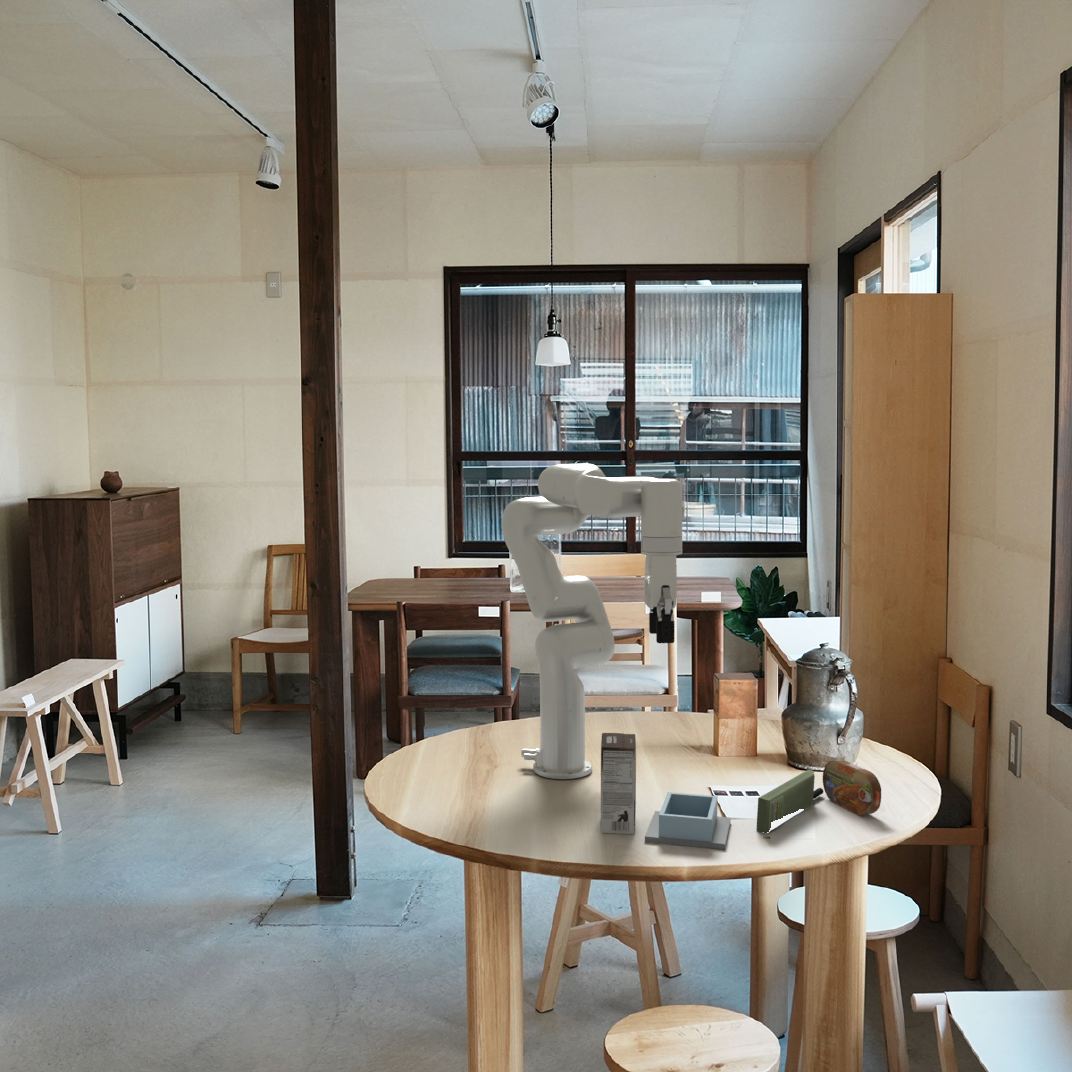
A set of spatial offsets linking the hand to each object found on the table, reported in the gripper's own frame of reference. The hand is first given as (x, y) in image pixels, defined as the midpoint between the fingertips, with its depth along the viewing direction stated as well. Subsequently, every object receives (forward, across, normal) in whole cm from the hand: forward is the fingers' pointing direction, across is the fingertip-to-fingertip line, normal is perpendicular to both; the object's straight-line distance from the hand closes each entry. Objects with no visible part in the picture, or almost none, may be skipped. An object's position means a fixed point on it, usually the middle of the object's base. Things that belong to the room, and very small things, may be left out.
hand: (661, 637), depth 194 cm
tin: (+35, -4, +37) cm, 51 cm away
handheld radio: (+35, -1, +25) cm, 43 cm away
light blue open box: (+34, +8, +4) cm, 35 cm away
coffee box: (+34, +4, -8) cm, 36 cm away
